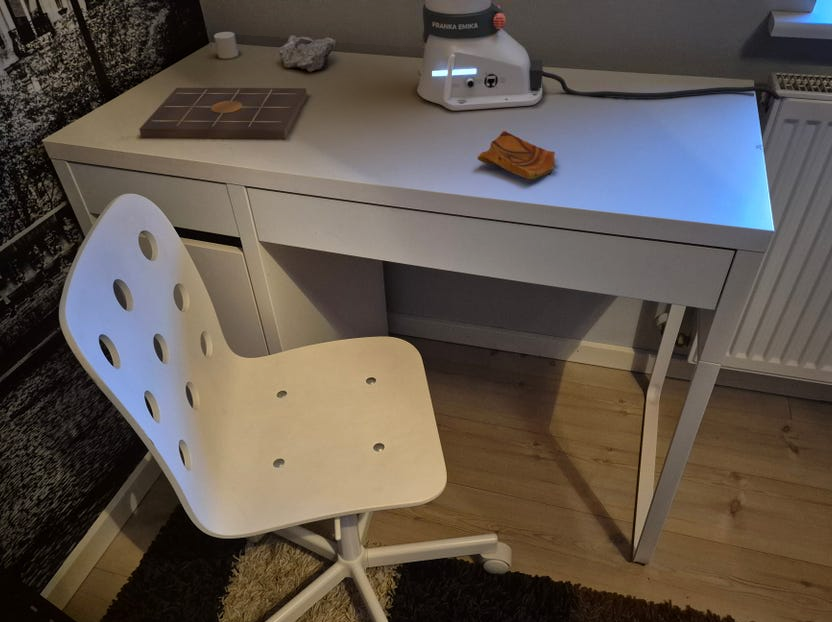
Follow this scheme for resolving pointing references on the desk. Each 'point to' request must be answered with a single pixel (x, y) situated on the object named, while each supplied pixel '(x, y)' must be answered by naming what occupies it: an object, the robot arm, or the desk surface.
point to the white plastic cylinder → (226, 45)
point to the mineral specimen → (306, 52)
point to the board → (226, 113)
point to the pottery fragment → (518, 156)
